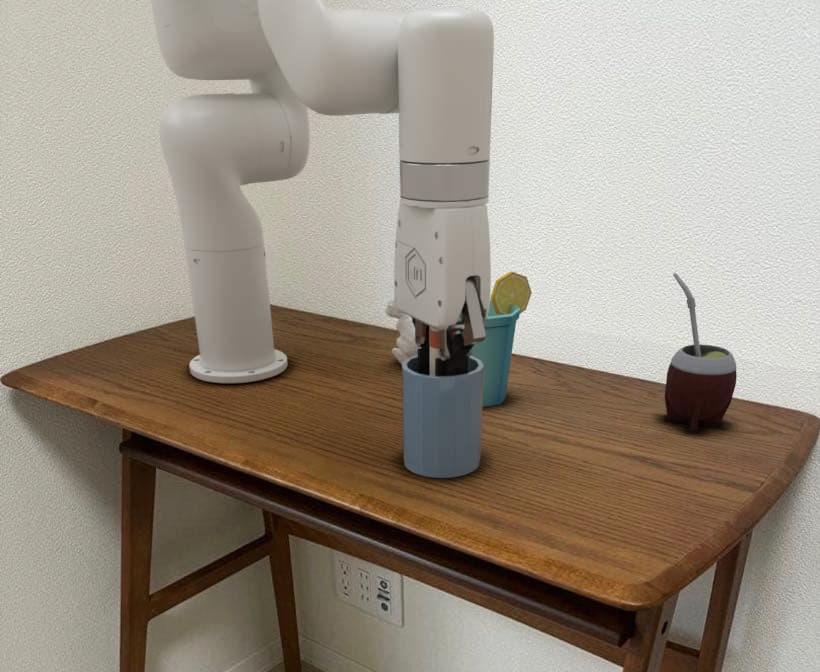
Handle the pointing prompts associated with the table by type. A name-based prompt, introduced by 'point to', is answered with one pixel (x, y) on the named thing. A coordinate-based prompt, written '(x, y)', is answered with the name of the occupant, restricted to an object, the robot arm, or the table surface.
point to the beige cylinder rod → (435, 347)
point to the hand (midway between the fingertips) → (442, 391)
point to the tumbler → (442, 420)
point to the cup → (500, 334)
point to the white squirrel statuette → (402, 332)
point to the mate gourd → (699, 380)
